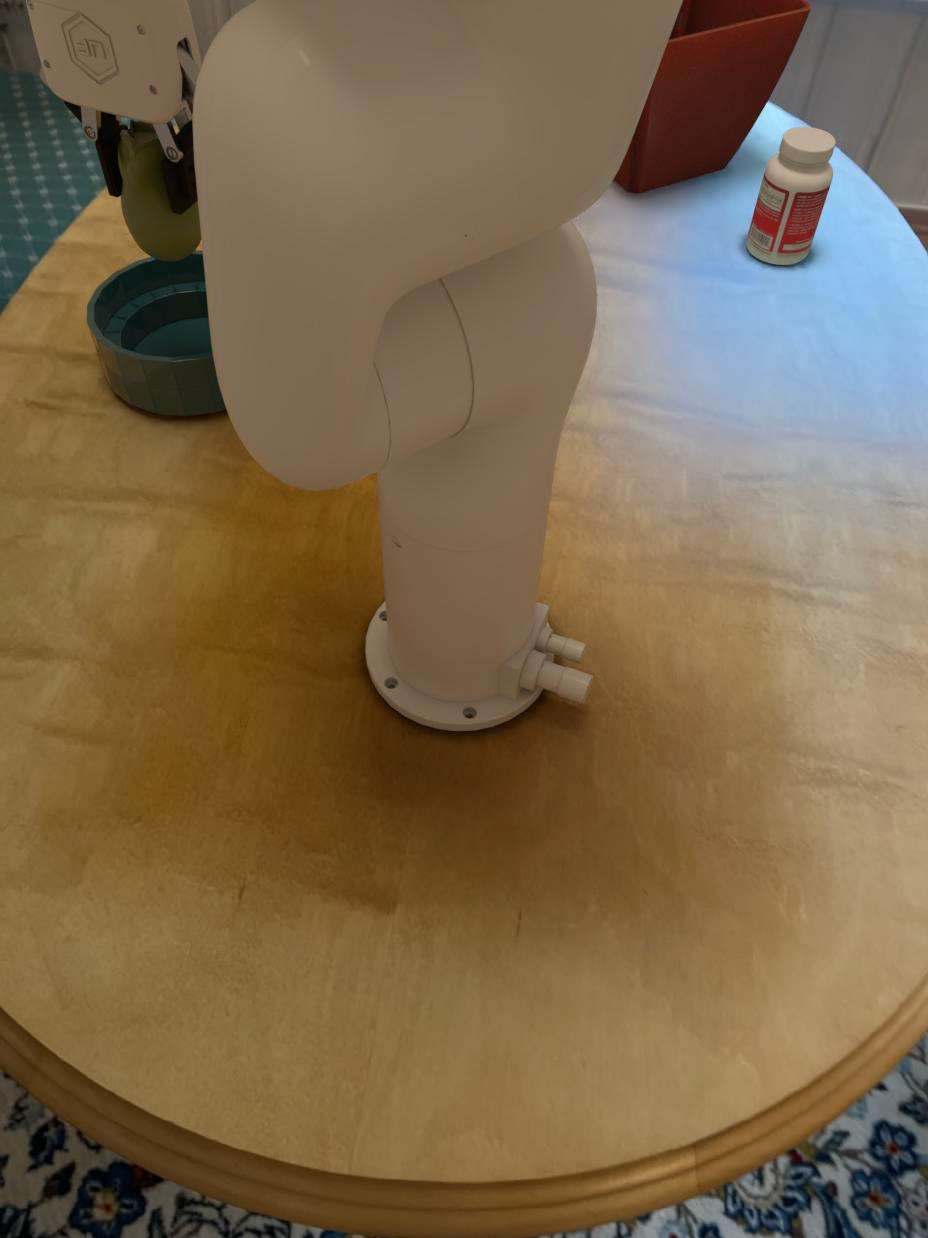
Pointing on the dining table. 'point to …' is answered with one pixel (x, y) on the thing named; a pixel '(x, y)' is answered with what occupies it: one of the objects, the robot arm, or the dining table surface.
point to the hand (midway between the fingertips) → (156, 193)
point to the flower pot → (710, 88)
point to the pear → (153, 198)
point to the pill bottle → (792, 197)
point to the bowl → (157, 336)
